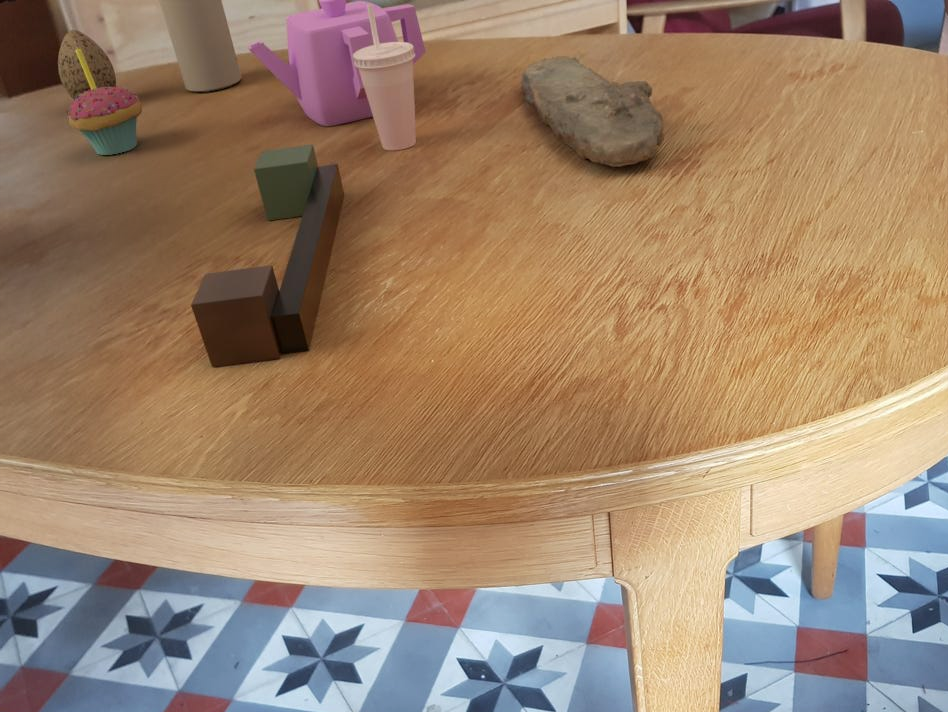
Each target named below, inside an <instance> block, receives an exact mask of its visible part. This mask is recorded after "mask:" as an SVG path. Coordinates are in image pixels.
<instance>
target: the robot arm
mask: <svg viewBox="0 0 948 712" xmlns="http://www.w3.org/2000/svg"><path fill="white" fill-rule="evenodd" d="M17 1H18V0H0V4H4V3H5V2H8V3H11V2H17Z"/></svg>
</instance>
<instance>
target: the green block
mask: <svg viewBox="0 0 948 712" xmlns="http://www.w3.org/2000/svg"><path fill="white" fill-rule="evenodd" d="M317 167H319V165H318V160H317V155H316V151H315V147H314V144H306V145H299V146H291V147H284V148H277V149H270V150H269V149H268V150H263V151H261V152H260V155H259V157H258V159H257V162H256V164H255V166H254V168H253V172H254V175H255V179H256V183H257V187H258V191H259V194H260V198H261V201H262V205H263V209H264V213H265V216H266V220H267V221H277V220H283V219H292V218H298V217H299V218H300V217H302V216H303V212H304V209H305V206H306V203H307V199H308V196H309V193H310V190H311V186H312V183H313V180H314V177H315V173H316V170H317Z"/></svg>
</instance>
